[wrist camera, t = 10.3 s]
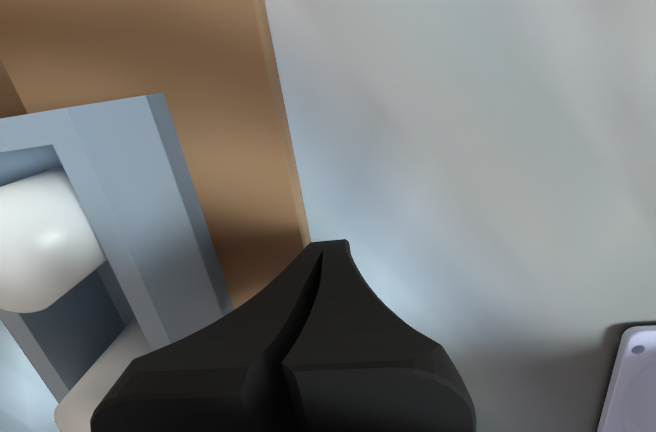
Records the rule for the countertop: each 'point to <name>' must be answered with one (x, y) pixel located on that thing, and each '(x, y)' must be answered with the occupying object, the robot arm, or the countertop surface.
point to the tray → (125, 228)
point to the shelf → (177, 106)
